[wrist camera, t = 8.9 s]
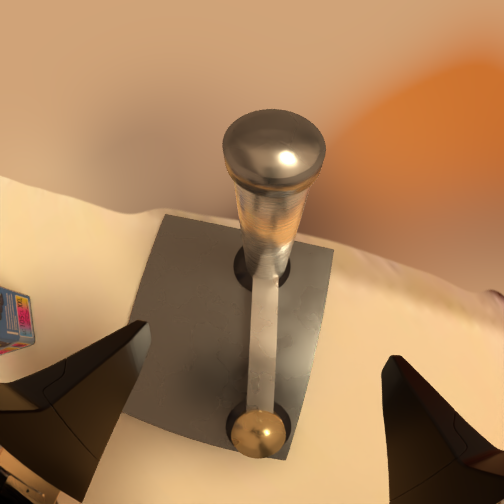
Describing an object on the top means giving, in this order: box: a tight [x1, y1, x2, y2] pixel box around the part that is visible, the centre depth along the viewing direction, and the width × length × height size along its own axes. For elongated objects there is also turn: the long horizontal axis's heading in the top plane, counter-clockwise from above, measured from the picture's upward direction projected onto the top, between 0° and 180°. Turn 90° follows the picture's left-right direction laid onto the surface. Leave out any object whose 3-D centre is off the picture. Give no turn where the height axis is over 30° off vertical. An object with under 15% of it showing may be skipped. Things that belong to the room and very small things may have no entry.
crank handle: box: [223, 109, 326, 458], centre depth 13 cm, size 16×4×13 cm, turn 177°
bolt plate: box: [122, 214, 334, 460], centre depth 20 cm, size 14×17×1 cm
